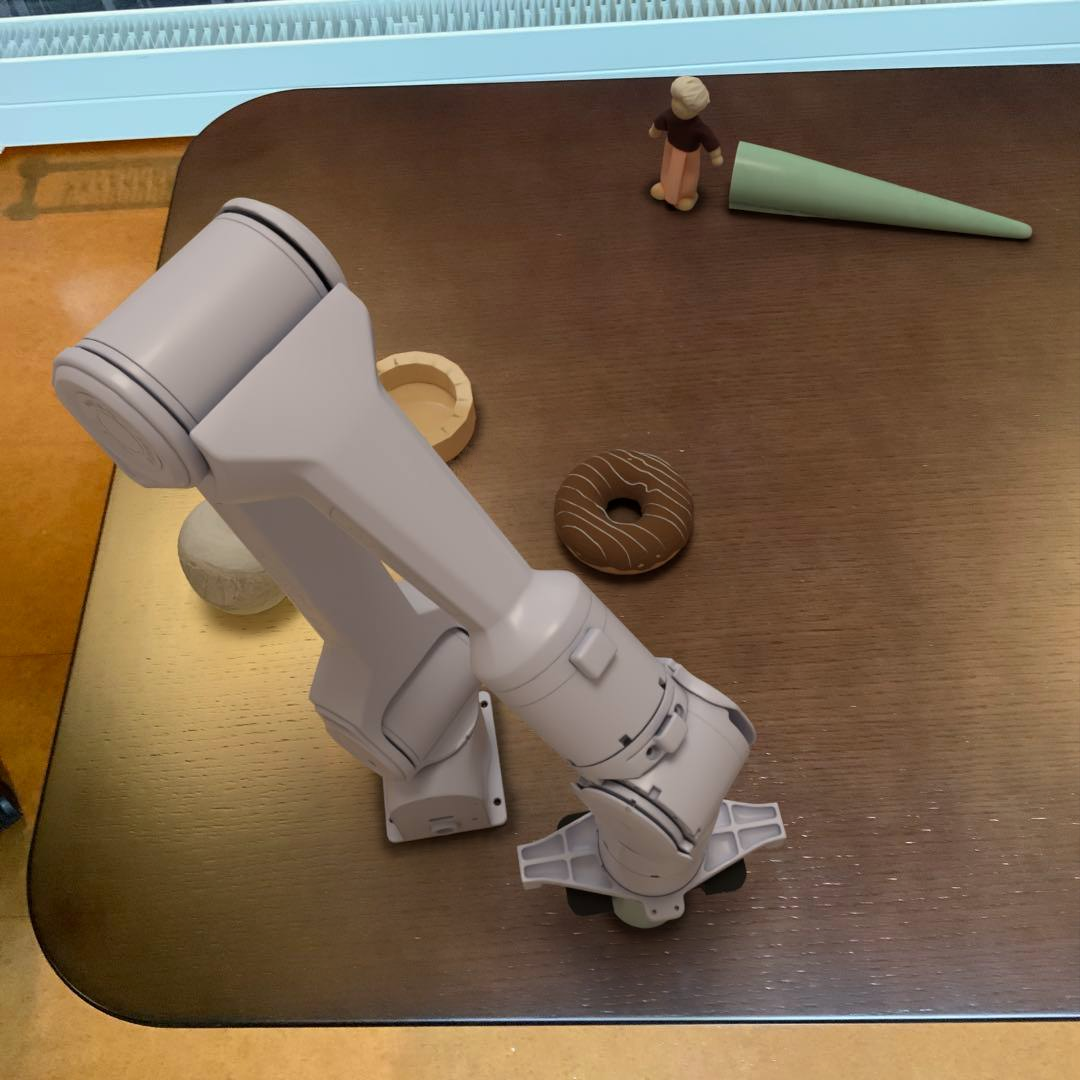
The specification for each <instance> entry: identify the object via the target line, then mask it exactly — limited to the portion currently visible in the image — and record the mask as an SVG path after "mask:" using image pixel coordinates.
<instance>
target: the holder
mask: <svg viewBox="0 0 1080 1080" xmlns="http://www.w3.org/2000/svg"><path fill="white" fill-rule="evenodd" d="M376 364H377V372H378V377H379V380H380V382H381V384H382V386H383V387H384V388H385V390H386V391H387V392H388V394H389V395H390V396H391V397H392V398H393V400H394V401H395V402H396V403H397V405H398V406H399V407H400V408H401V409H402V411H403V412H404V413H405V414H406V416H407V417H408V418H409V419H410V420H411V422H412V423H413V424H414V425H415V427H416V428H417V429H418V430H419V431H420V433H421V434H422V435H423V436H424V438H425V439H426V440H427V441H428V442H429V444H430V445H431V446H432V447H433V449H434V450H435V451H436V452H437V453H438V455H439V456H440V457H441V458H442V460H443V461H444V462H445V463H446V464H447V463H449V462H450V461H452V460H453V459H454V458H455V457H457V456H459V454H460V453H461V452H462V451H463V450H464V449H465V448H466V447H467V445H468V444H469V442H470V440H471V438H472V436H473V434H474V432H475V427H476V421H477V414H476V408H475V401H474V396H473V395H474V394H473V389H472V383H471V381H470V379H469V378H468V376H467V375H466V373H465V372H464V371H463V370H462V368H461V367H460V365H458V364H457V363H455V362H453V361H452V360H450V359H448V358H446V357H444V356H443V355H441V354H438V353H431V352H425V351H420V350H412V351H406V352H399V353H393V354H391V355H389V356H387V357H385V358H383V359H380V360H378V361H376Z"/></svg>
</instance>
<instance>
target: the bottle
mask: <svg viewBox="0 0 1080 1080" xmlns="http://www.w3.org/2000/svg"><path fill="white" fill-rule="evenodd" d="M612 901H613V907H614V912H613V913H614V914H615V915H616V916H617V917H618V918H619V919H620V920H621V921H623V922H624V923H626V924H627V925H630V926H631V927H635V928H640V929H651V928H655V927H659V926H661V925H664V923H666V922H667V921H668V920H664V921H659V922H652V921H650V920H649V919H647V917H646V915H645V911H644V907H643V905H642V904H641V903H640V902H639V901H636V900H631V899H626V898H621V897H616V896H612ZM675 910H676V911H678V909H677V908H675ZM652 914H654V915H655V914H656V913H655V912H652Z"/></svg>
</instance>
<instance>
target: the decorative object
mask: <svg viewBox="0 0 1080 1080" xmlns="http://www.w3.org/2000/svg"><path fill="white" fill-rule="evenodd" d="M176 548H177V555H178V559H179V564H180V567H181V569H182V572H183V573H184V576H185V578H186V580H187V582H188V584H189V585H190V587H191V588H192V589H193V591H194V592H195V593H196V595H198V597H200V599H202V600H203V601H204V602H205V603H207V604H209V606H210V605H211V606H212V607H214V608H216V609H218V610H220V611H223V612H226V613H229V614H232V615H233V614H234V615H243V616H244V615H245V616H246V615H254V614H257V613H262V612H265V611H267V610H269V609H271V608H273V607H275V606H276V605H278V604H279V603H280V602H281V601H283V600H284V599H285V598H287V596H286V595H285V594H284V592H283V591H282V590H281V589H280V588H279V586H278V585H277V584H276V583H275V582H274V580H273V579H272V578H271V577H270V576H269V574H268V573H267V572H266V571H265V570H264V568H263V567H262V566H261V565H260V564H259V562H258V561H257V560H256V559H255V558H254V556H253V555H252V554H251V553H250V552H249V550H248V549H247V548H246V547H245V546H244V544H243V543H242V542H241V541H240V540H239V538H238V537H237V536H236V535H235V534H234V532H233V531H232V530H231V529H230V528H229V526H228V525H227V524H226V523H225V522H224V520H223V519H222V518H221V517H220V516H219V514H218V513H217V512H216V511H215V510H214V508H213V507H212V506H211V505H210V504H209V502H208V501H207V500H206V499H204V500H202V501H200V502H199V503H198V504H197V505H196V506H195V507H194V508H192V510H191V511H190V512H189V513H188V515H187V516H186V517H185V519H184V520H183V522H182V524H181V527H180V530H179V533H178V538H177V546H176Z"/></svg>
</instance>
